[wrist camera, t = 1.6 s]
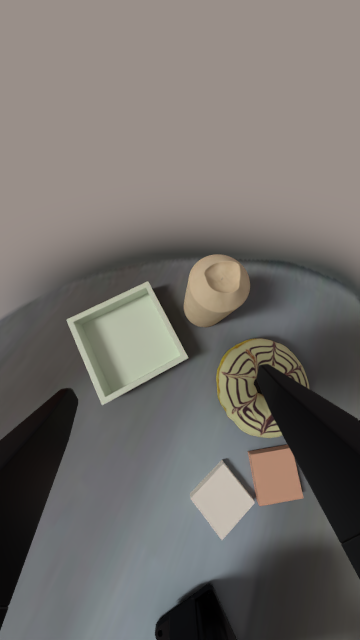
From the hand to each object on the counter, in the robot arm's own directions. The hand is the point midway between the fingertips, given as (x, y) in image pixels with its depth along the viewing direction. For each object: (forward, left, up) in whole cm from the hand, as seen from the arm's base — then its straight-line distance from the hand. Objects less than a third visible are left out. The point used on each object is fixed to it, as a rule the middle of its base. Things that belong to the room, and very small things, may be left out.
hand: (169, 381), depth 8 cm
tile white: (-15, +2, -14) cm, 21 cm away
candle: (+5, -7, -14) cm, 16 cm away
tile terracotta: (-16, -5, -14) cm, 22 cm away
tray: (+5, +3, -14) cm, 15 cm away
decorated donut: (-7, -8, -14) cm, 18 cm away
